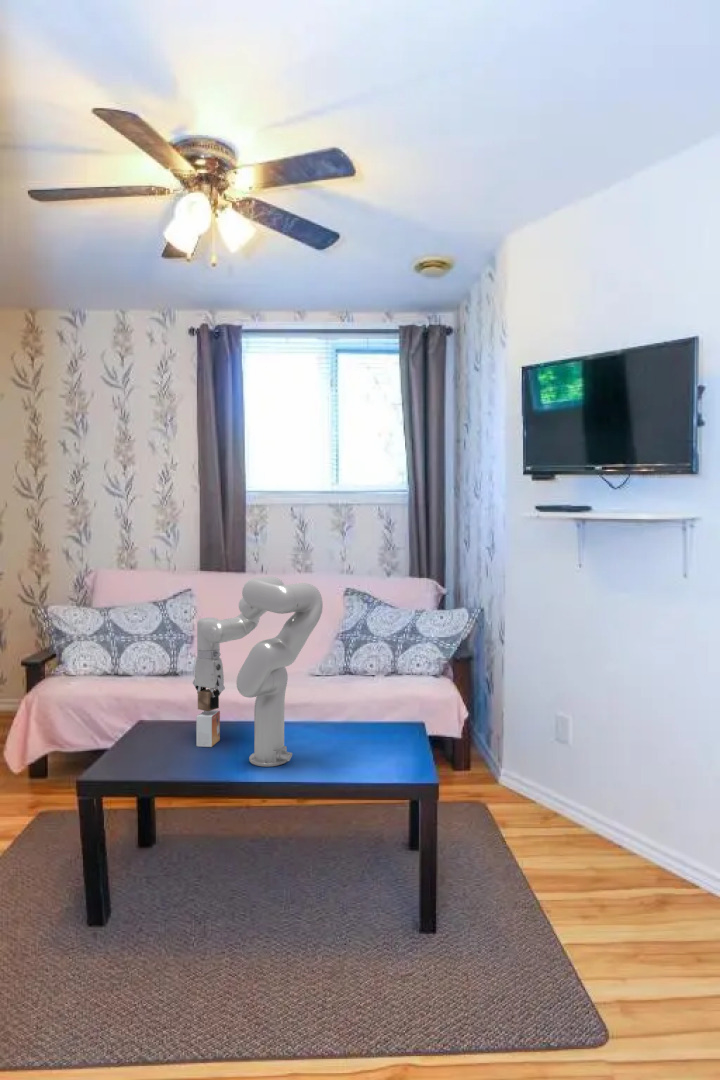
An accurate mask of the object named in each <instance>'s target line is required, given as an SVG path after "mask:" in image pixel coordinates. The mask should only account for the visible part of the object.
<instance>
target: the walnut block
mask: <svg viewBox="0 0 720 1080" xmlns="http://www.w3.org/2000/svg"><path fill="white" fill-rule="evenodd" d="M215 691H216V690H215V689H214V692H215ZM210 697H212V696H211V691H210V688H206V690H202V691H199V692H198V694H197V710H200V711H203V712H204V711H211V710H217V709H220V708H219V707H220V706H219V705H220V696H218V708H214V709H211V708H210Z"/></svg>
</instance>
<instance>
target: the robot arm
mask: <svg viewBox="0 0 720 1080" xmlns="http://www.w3.org/2000/svg"><path fill="white" fill-rule="evenodd" d="M241 591H242V597H241V599H240V600H239V601H238V610H239V612H240V614H238V615H237V616H236V617H231V618H225V619H224V618H223V619H218V617H217V618H216V617H200V618H199V619H198V620H197V622H196V623H197V624H196V631H197V633H196V638H197V639H196V643H197V644H196V645H197V646H196V651H197V652H196V655H197V657H196V659H195V668H194V679H193V681H192V685H193V686H194V687H195V689H196V691H197V695H198V692H199V691H202V690H206V689H210V691H211V696H212V697H210V708H211V709H214V708H218V696H219V697H221V696H220V695H221V693H222V692H223V691H225V689H226V687H225V685H224V683H225V681H224V680H225V679H224V677H225V675H224V666H223V660H222V658H221V657H220V656H221V651H220V648H221V647H220V646H221V644H223V643H227V642H231V641H232V642H233V641H237V640H240V639H243V638H244V637H246V636H247V635H249V634H250V633H252V632H253V631H254V630H255V629H256V628H257V626H258V625H259V622H260V618H261V617H262V616H263V615H264V614H266V612H270V613H274V614H279V615H280V614H291V613H293V614H292V615H291V616H290V617H289V618H288V619H287V620H286V621H285V623H284V624H283V626H282V628H281V630H280V631H279V632H278V634H277V635H276V636H275V637H273V638H268V639H263V640H261V641H259V642H257V643H256V644H255V645H254V646H253V647H252V648H251V650H250V652H249V653H248V654H247V657H246V658H245V660H244V662H243V664H242V665H241V667H240V670H239V671H238V674H237V676H236V688H237V691H238V692H239V694H240V695H241V696H243V697H245V698H249V699H251V698H255V697H256V698H255V701H254V710H253V711H254V714H253V716H254V720H253V721H254V723H253V725H254V728H253V731H254V732H253V733H254V736H253V737H254V738H253V739H254V741H253V742H254V747H253V749H254V750H253V751H254V752H253V753H252V754H250V755H249V758H248V759H249V760H248V761H249V762H250V763H251V764H252V765H253V766H258V767H264V768H265V767H267V768H268V767H277V766H281V765H284V764H286V763H288V762H289V761H290V760H291V758H292V757H293V752H289V751H287V746H285V699H286V691H287V690H286V689H287V686H288V677H289V676H288V675H289V674H288V671H287V668H286V667H289V666H291V665H292V664H293V663H294V662H296V659H297V657H298V656H299V654H300V653H301V652H302V649H303V647H304V646H305V644H306V642H307V640H308V639H309V637H310V635H311V634H312V632H313V631H314V629H315V628H316V627H317V625H318V623H319V621H320V619H321V616H322V613H323V609H324V607H323V602H324V601H323V598H322V594H321V593H320V592H321V591H320V590H319V588H317V587H316V586H315V585H313V584H310V583H303V582H301V583H292V584H290V583H289V584H285V583H284V581H282V580H281V579H280V578H278V577H276V576H265V577H256V578H255V577H254V578H251V579H249V580H247V582H245V583H244V585H243V587H242V590H241ZM214 690H216V691H215V692H214ZM218 709H219V708H218ZM214 710H215V709H214Z"/></svg>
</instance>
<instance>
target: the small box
mask: <svg viewBox="0 0 720 1080" xmlns="http://www.w3.org/2000/svg"><path fill="white" fill-rule="evenodd" d="M195 719H196V725H195V726H196V727H195V729H196V731H195V732H196V733H195V734H196V739H195V740H196V741H195V742H196V743H195V744H196V747H201V748H202V747H203V748H204V747H205V748H213V746H215V745H216V744H217V743H218V742H220V740H221V737H220V736H221V731H220V730H221V726H220V725H221V711H220V710H217V709H214V710H211V711H204V710H203V711H202V712H201V713H199V714H198V715H196V718H195Z"/></svg>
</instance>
